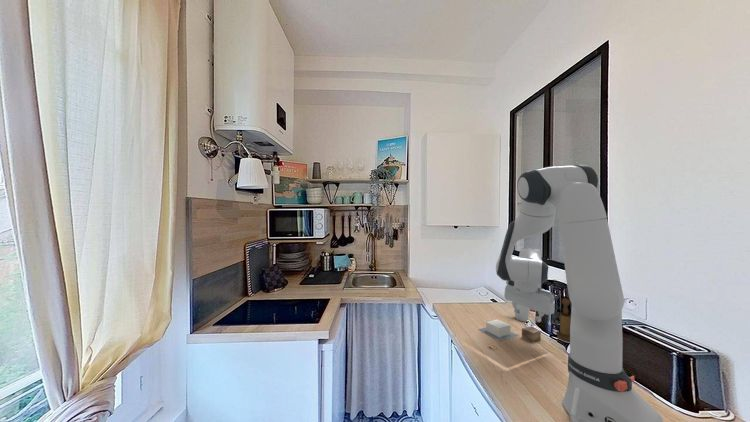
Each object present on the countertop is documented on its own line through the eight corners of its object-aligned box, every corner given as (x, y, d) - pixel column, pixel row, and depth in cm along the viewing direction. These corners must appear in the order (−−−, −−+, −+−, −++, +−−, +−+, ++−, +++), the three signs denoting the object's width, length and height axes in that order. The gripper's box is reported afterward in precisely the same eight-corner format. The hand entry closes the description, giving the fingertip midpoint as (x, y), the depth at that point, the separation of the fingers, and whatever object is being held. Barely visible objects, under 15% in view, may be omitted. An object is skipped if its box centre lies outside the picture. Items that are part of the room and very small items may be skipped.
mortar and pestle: (568, 345, 111) (568, 301, 111) (552, 338, 117) (553, 297, 117) (578, 342, 113) (578, 300, 113) (562, 335, 119) (563, 295, 119)
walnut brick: (540, 342, 113) (540, 330, 113) (533, 345, 111) (533, 333, 111) (529, 337, 117) (529, 326, 117) (521, 339, 115) (521, 328, 115)
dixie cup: (515, 321, 134) (515, 301, 134) (510, 315, 142) (510, 296, 142) (533, 323, 132) (533, 303, 132) (528, 316, 140) (528, 297, 140)
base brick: (510, 334, 118) (510, 325, 118) (499, 337, 115) (499, 328, 115) (496, 327, 124) (497, 319, 124) (486, 330, 121) (486, 322, 121)
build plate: (519, 337, 117) (519, 335, 117) (500, 343, 111) (500, 341, 111) (496, 327, 128) (496, 324, 128) (477, 331, 122) (477, 329, 122)
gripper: (558, 291, 107) (557, 325, 107) (511, 278, 125) (510, 307, 125) (549, 293, 104) (547, 328, 104) (502, 279, 122) (501, 309, 122)
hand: (527, 317), depth 115 cm, fingers open, 8 cm apart
